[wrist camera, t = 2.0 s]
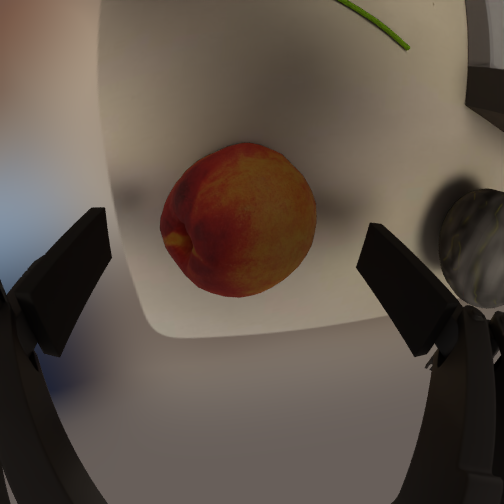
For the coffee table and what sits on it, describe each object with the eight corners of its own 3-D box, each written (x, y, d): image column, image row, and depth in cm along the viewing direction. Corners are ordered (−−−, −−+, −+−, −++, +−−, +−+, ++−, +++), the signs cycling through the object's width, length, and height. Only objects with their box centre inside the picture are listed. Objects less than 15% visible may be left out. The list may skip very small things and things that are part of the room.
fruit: (197, 118, 15) (173, 128, 8) (316, 162, 17) (374, 206, 10) (163, 229, 18) (133, 305, 12) (270, 259, 20) (292, 340, 14)
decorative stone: (494, 188, 19) (561, 233, 10) (461, 269, 24) (513, 327, 15) (440, 158, 17) (533, 206, 9) (402, 262, 22) (465, 340, 13)
